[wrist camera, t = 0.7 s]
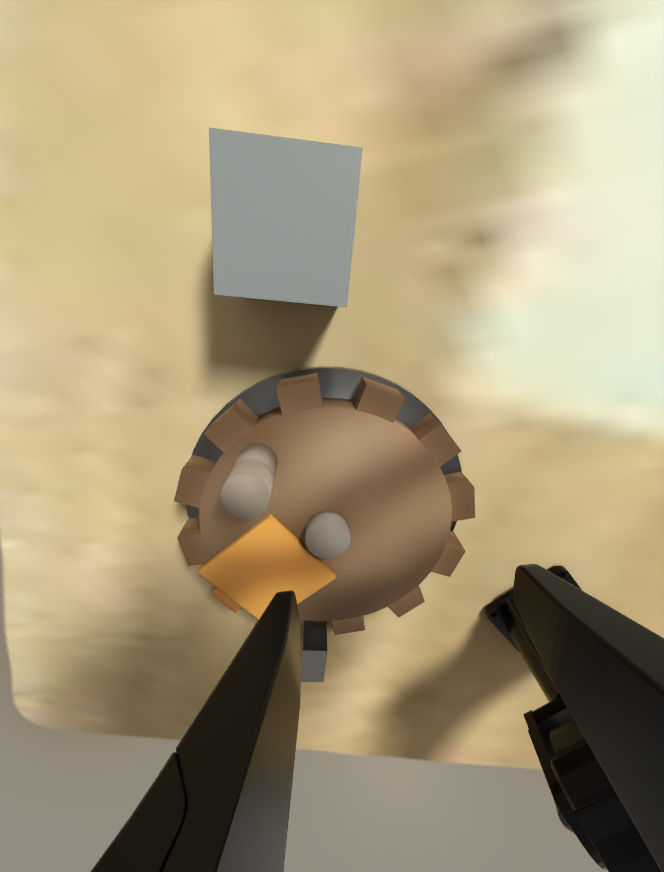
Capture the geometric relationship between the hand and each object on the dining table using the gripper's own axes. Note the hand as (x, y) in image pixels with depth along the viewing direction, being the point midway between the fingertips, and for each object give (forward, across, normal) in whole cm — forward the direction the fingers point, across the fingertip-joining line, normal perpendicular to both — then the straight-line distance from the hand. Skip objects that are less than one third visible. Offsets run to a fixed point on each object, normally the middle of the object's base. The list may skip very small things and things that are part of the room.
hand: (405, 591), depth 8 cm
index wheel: (+13, +2, +5) cm, 14 cm away
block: (+13, +2, -9) cm, 16 cm away
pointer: (+13, +4, +16) cm, 21 cm away
